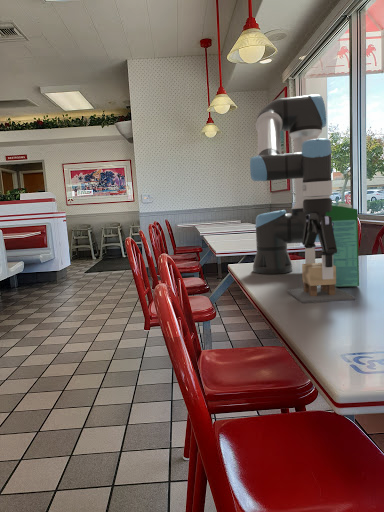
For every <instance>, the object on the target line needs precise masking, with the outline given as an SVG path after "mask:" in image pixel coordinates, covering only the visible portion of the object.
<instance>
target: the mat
mask: <svg viewBox="0 0 384 512" xmlns="http://www.w3.org/2000/svg"><path fill="white" fill-rule="evenodd" d="M287 292H288V293H289V295H290V294H291V295H292V296H293V297H294V298H296V299H297V300H298V301H299V302H300V303H302V304H307V303H319V302H320V303H321V302H323V303H324V302H338V301H348V300H349V301H350V300H351V301H352V300H356V296H354V295H352V294H349V293H348V292H346V291H344V290H342V289H339V288H338V287H337V286H336V287H335V295H328V294H327V291H321V286H320V287H319V286H317V296H310V295H309V292H304V287H303V288H291V289H289V288H288V289H287Z"/></svg>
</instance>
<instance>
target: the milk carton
mask: <svg viewBox="0 0 384 512" xmlns="http://www.w3.org/2000/svg"><path fill="white" fill-rule="evenodd" d="M352 206H353V205H351V204H350V203H349V204H348V203H342V202H339V203H338V205H336V204H332V211H330V212H326V216H331V217H332V227H333V232H334V237H335V242H336V247H337V253H334V255H333V265H334V266H336V284H335V287H336V288H337V287H359V286H360V268H359V267H360V266H359V265H360V263H359V261H360V259H359V221H358V220H359V217H358V216H359V215H358V213H359V212H358V211H359V210H358V208H353V207H352ZM321 250H322V249H321ZM322 252H323V250H322V251H321V253H322Z"/></svg>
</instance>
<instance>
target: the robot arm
mask: <svg viewBox="0 0 384 512" xmlns="http://www.w3.org/2000/svg"><path fill="white" fill-rule="evenodd" d="M326 111H327V110H326V104H325V100H324V98H323V96H322V95H321V94H307V95H299V96H290V97H282V98H276V99H274V100H272V101H270V102H268V103H267V104H266V105H265V106H264V107H262V109H261V110H260V111H259V113H258V114H257V116H256V118H255V129H256V132H257V155H256V156H255V155H254V156H252V157H250V159H249V170H250V171H249V173H250V178H251V180H252V181H253V182H269V181H270V182H271V181H281V180H294V186H295V187H294V189H295V195H294V196H295V204H294V205H293V206H292V207H291V212H289V213H288V212H287V211H286V209H282V210H274V211H268V212H264V213H260V214H258V215H257V216H256V217H255V226H254V227H255V236H256V237H255V238H256V239H255V240H256V254H255V257H254V261H253V264H252V272H254V273H255V274H262V275H278V274H285V273H287V274H288V273H291V272H292V271H293V264H292V261H291V258H290V255H289V252H288V244H289V245H290V244H302V245H303V247H304V255H305V256H304V257H305V261H304V262H305V263H304V264H310V263H316V247H317V246H316V243H320V246H321V250H323V252H322V251H321V253H320V256H321V263H322V279H323V280H324V279H333V255H334V253H337V247H336V242H335V237H334V232H333V227H332V217H331V216H326V212H330V211H332V205H333V198H331V196H332V195H333V181H332V153H333V150H332V142H331V140H330V139H329V138H323V137H322V138H319V136H320V135H321V134H322V132H323V128H325V127H326V126H327V112H326ZM286 131H287V132H289V134H288V135H289V137H290V138H292V139H293V151H294V152H290V153H289V152H288V153H282V142H281V132H286Z"/></svg>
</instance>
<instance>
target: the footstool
mask: <svg viewBox="0 0 384 512" xmlns="http://www.w3.org/2000/svg"><path fill="white" fill-rule="evenodd" d="M301 268H302V269H301V272H302V274H301V275H302V279H301V280H302V283H303V288H304V292H309V295H310V296H317V287H318V286H320V287H321V291H327V294H328V295H335V284H336V266H334V265H333V279H324V280H323V279H322V262H315V263H310V264H305V263H302V264H301Z"/></svg>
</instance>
